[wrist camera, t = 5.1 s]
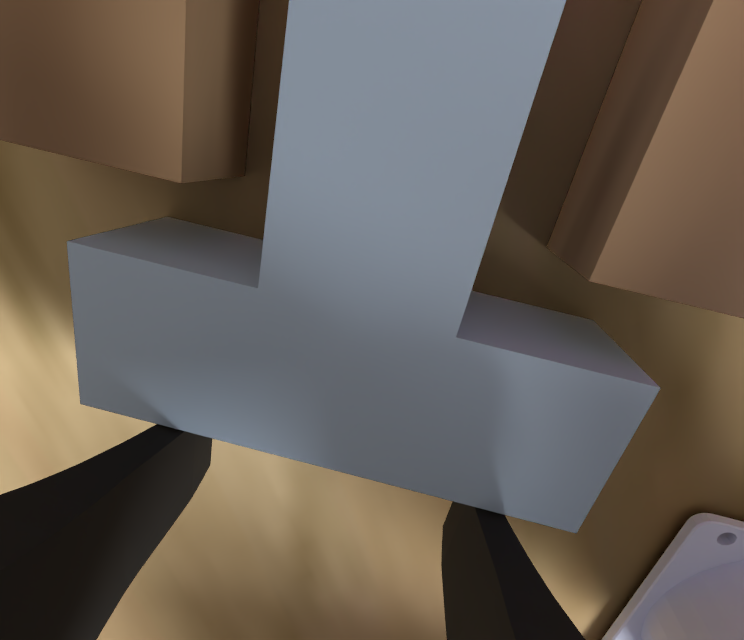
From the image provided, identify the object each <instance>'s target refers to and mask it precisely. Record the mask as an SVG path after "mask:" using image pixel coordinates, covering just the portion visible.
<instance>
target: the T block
mask: <svg viewBox="0 0 744 640" xmlns="http://www.w3.org/2000/svg"><path fill="white" fill-rule="evenodd" d="M565 3H566V0H289V6H288V16H287V25H286V34H285V43H284V53H283V62H282V71H281V80H280V90H279V99H278V108H277V118H276V127H275V136H274V145H273V155H272V164H271V173H270V182H269V192H268V201H267V210H266V219H265V229H264V238H263V240H261V239H257V238H253V237H249V236H245V235H241V234H237V233H233V232H228V231H224V230H220V229H216V228H212V227H208V226H204V225H200V224H195V223H191V222H187V221H183V220H179V219H175V218H171V217H164V218H160V219H156V220H152V221H148V222H144V223H140V224H136V225H131V226H127V227H123V228H119V229H115V230H111V231H107V232H103V233H98V234H94V235H90V236H86V237H82V238H78V239H74V240H70V241H67V251H68V263H69V275H70V286H71V298H72V310H73V322H74V334H75V346H76V358H77V370H78V382H79V393H80V404H83V405H86V406H90V407H94V408H98V409H102V410H106V411H109V412H113V413H117V414H121V415H125V416H129V417H132V418H136V419H140V420H144V421H148V422H152V423H155V424H159V425H163V426H167V427H171V428H174V429H178V430H182V431H186V432H190V433H194V434H197V435H201V436H205V437H209V438H213V439H217V440H220V441H224V442H228V443H232V444H236V445H240V446H243V447H247V448H251V449H255V450H259V451H263V452H266V453H270V454H274V455H278V456H282V457H285V458H289V459H293V460H297V461H301V462H305V463H308V464H312V465H316V466H320V467H324V468H328V469H331V470H335V471H339V472H343V473H347V474H351V475H354V476H358V477H362V478H366V479H370V480H374V481H377V482H381V483H385V484H389V485H393V486H396V487H400V488H404V489H408V490H412V491H416V492H419V493H423V494H427V495H431V496H435V497H439V498H442V499H446V500H450V501H454V502H458V503H462V504H465V505H469V506H473V507H477V508H481V509H485V510H488V511H492V512H496V513H500V514H504V515H507V516H511V517H515V518H519V519H523V520H527V521H530V522H534V523H538V524H542V525H546V526H550V527H553V528H557V529H561V530H565V531H569V532H573V533H577V532H578V530H579V528H580V526H581V525H582V523H583V521H584V519H585V518H586V516H587V514H588V513H589V511H590V509H591V507H592V506H593V504H594V502H595V501H596V499H597V497H598V495H599V494H600V492H601V490H602V488H603V487H604V485H605V483H606V482H607V480H608V478H609V476H610V475H611V473H612V471H613V469H614V468H615V466H616V464H617V463H618V461H619V459H620V457H621V456H622V454H623V452H624V451H625V449H626V447H627V445H628V444H629V442H630V440H631V438H632V437H633V435H634V433H635V432H636V430H637V428H638V426H639V425H640V423H641V421H642V419H643V418H644V416H645V414H646V413H647V411H648V409H649V407H650V406H651V404H652V402H653V400H654V399H655V397H656V395H657V394H658V392H659V390H660V387H659V386H658V385H657V384H656V383H655V382H654V381H653V380H652V379H651V378H650V377H649V376H648V375H647V374H646V373H645V372H644V371H643V370H642V369H641V368H640V367H639V366H638V365H637V364H636V363H635V362H634V361H633V360H632V359H631V358H630V357H629V356H628V355H627V354H626V353H625V352H624V351H623V350H622V349H621V348H620V347H619V346H618V345H617V344H616V343H615V342H614V341H613V340H612V339H611V338H610V337H609V336H608V335H607V334H606V333H605V332H604V331H603V330H602V329H601V328H600V327H599V326H598V325H597V324H596V323H595V322H594V321H593V320H590V319H586V318H582V317H578V316H574V315H570V314H566V313H562V312H558V311H553V310H549V309H545V308H541V307H537V306H533V305H529V304H525V303H520V302H516V301H512V300H508V299H504V298H500V297H496V296H492V295H488V294H483V293H479V292H475V291H471V290H472V287H473V284H474V281H475V278H476V275H477V272H478V268H479V265H480V262H481V259H482V256H483V253H484V250H485V247H486V244H487V241H488V238H489V235H490V232H491V229H492V226H493V223H494V220H495V217H496V213H497V210H498V207H499V204H500V201H501V198H502V195H503V192H504V189H505V186H506V183H507V180H508V177H509V174H510V171H511V168H512V165H513V162H514V158H515V155H516V152H517V149H518V146H519V143H520V140H521V137H522V134H523V131H524V128H525V125H526V122H527V119H528V116H529V113H530V110H531V107H532V103H533V100H534V97H535V94H536V91H537V88H538V85H539V82H540V79H541V76H542V73H543V70H544V67H545V64H546V61H547V58H548V55H549V52H550V48H551V45H552V42H553V39H554V36H555V33H556V30H557V27H558V24H559V21H560V18H561V15H562V12H563V9H564V6H565Z"/></svg>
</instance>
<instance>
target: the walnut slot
mask: <svg viewBox="0 0 744 640" xmlns="http://www.w3.org/2000/svg"><path fill="white" fill-rule="evenodd" d="M258 11H259V0H0V140H3V141H7V142H11V143H15V144H19V145H23V146H28V147H32V148H36V149H40V150H44V151H48V152H53V153H57V154H61V155H65V156H69V157H73V158H78V159H82V160H86V161H90V162H94V163H98V164H103V165H107V166H111V167H115V168H119V169H123V170H128V171H132V172H136V173H140V174H144V175H148V176H153V177H157V178H161V179H165V180H169V181H173V182H178V183H188V182H197V181H205V180H214V179H222V178H230V177H239V176H245V165H246V153H247V141H248V129H249V118H250V106H251V94H252V82H253V70H254V58H255V47H256V35H257V23H258ZM546 248H548V249H549V250H550V251H551V252H553V253H554V254H555V255H556V256H558V257H559V258H560V259H561V260H563V261H564V262H565V263H567V264H568V265H569V266H570V267H572V268H573V269H574V270H575V271H577V272H578V273H579V274H580V275H582V276H583V277H584V278H586V279H587V280H588V281H590V282H594V283H599V284H603V285H607V286H611V287H615V288H619V289H624V290H628V291H632V292H636V293H640V294H644V295H649V296H653V297H657V298H661V299H665V300H669V301H674V302H678V303H682V304H686V305H690V306H694V307H699V308H703V309H707V310H711V311H715V312H719V313H724V314H728V315H732V316H736V317H740V318H744V0H642V2H641V5H640V7H639V10H638V12H637V15H636V17H635V20H634V23H633V25H632V28H631V30H630V33H629V36H628V38H627V41H626V43H625V46H624V48H623V51H622V54H621V56H620V59H619V61H618V64H617V67H616V69H615V72H614V74H613V77H612V79H611V82H610V85H609V87H608V90H607V92H606V95H605V98H604V100H603V103H602V105H601V108H600V110H599V113H598V116H597V118H596V121H595V123H594V126H593V129H592V131H591V134H590V136H589V139H588V141H587V144H586V147H585V149H584V152H583V154H582V157H581V160H580V162H579V165H578V167H577V170H576V172H575V175H574V178H573V180H572V183H571V185H570V188H569V191H568V193H567V196H566V198H565V201H564V203H563V206H562V209H561V211H560V214H559V216H558V219H557V222H556V224H555V227H554V229H553V232H552V234H551V237H550V240H549V242H548V245H547V247H546Z"/></svg>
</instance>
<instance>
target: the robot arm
mask: <svg viewBox="0 0 744 640" xmlns="http://www.w3.org/2000/svg"><path fill="white" fill-rule="evenodd" d="M211 447H212V438H209V437H205V436H201V435H197V434H194V433H190V432H186V431H182V430H178V429H174V428H171V427H167V426H163V425H159V424H157V425H155V426H153V427H151V428H149V429H147V430H146V431H144V432H142V433H140V434H138V435H136V436H134V437H132V438H131V439H129V440H127V441H125V442H123V443H121V444H119V445H117V446H115V447H113V448H111V449H109V450H107V451H105V452H103V453H101V454H98V455H96V456H94V457H92V458H90V459H88V460H86V461H84V462H82V463H80V464H78V465H75V466H73V467H71V468H68V469H66V470H64V471H61V472H59V473H57V474H54V475H52V476H49V477H47V478H44V479H42V480H39V481H37V482H34V483H32V484H29V485H27V486H24V487H21V488H18V489H16V490H13V491H10V492H7V493H4V494H1V495H0V640H96V639H97V638H98V636H99V634H100V632H101V631H102V629H103V628H104V626H105V624H106V623H107V621H108V619H109V618H110V616H111V614H112V613H113V611H114V609H115V608H116V606H117V604H118V603H119V601H120V599H121V598H122V596H123V594H124V593H125V591H126V590H127V588H128V587H129V585H130V584H131V582H132V581H133V579H134V578H135V576H136V575H137V573H138V572H139V570H140V569H141V568H142V566H143V565H144V564H145V562H146V561H147V559H148V558H149V557H150V555H151V554H152V553H153V551H154V550H155V548H156V547H157V546H158V544H159V543H160V541H161V540H162V539H163V537H164V536H165V535H166V533H167V532H168V530H169V529H170V528H171V526H172V525H173V524H174V522H175V521H176V519H177V518H178V517H179V515H180V514H181V512H182V511H183V510H184V508H185V507H186V505H187V504H188V503H189V501H190V500H191V498H192V497H193V495H194V493H195V491H196V490H197V488H198V486H199V484H200V483H201V481H202V479H203V477H204V475H205V473H206V472H207V470H208V468H209V466H210V461H211ZM441 565H442V580H443V594H444V608H445V621H446V635H447V640H585V639H584V637H583V636H582V635H581V633H580V632H579V631H578V629H577V628H576V626H575V625H574V624H573V622H572V621H571V620H570V618H569V617H568V616H567V614H566V613H565V612H564V610H563V609H562V608H561V606H560V605H559V603H558V602H557V600H556V599H555V598H554V596H553V595H552V593H551V592H550V590H549V589H548V587H547V586H546V584H545V583H544V581H543V579H542V578H541V576H540V575H539V573H538V572H537V570H536V569H535V567H534V565H533V564H532V562H531V561H530V559H529V557H528V556H527V554H526V552H525V550H524V549H523V547H522V545H521V544H520V542H519V540H518V538H517V537H516V535H515V533H514V532H513V530H512V528H511V526H510V524H509V523H508V521H507V519H506V517H505V515H504V514H500V513H496V512H492V511H488V510H485V509H481V508H477V507H473V506H469V505H465V504H462V503H458V502H454V501H453V502H452V505H451V507H450V510H449V512H448V515H447V517H446V520H445V522H444V525H443V537H442V564H441ZM602 640H744V522H743V521H739V520H735V519H731V518H727V517H723V516H719V515H715V514H711V513H699V514H695V515H693V516H691V517H690V518H689V519H688V520H687V521H686V523H685V524H684V526H683V527H682V528H681V530H680V531H679V533H678V534H677V535H676V537H675V538H674V539H673V541H672V542H671V544H670V545H669V546H668V548H667V549H666V551H665V552H664V553H663V555H662V556H661V558H660V559H659V560H658V562H657V563H656V565H655V566H654V567H653V569H652V570H651V572H650V573H649V574H648V576H647V577H646V579H645V580H644V581H643V583H642V584H641V585H640V587H639V588H638V590H637V591H636V592H635V594H634V595H633V597H632V598H631V599H630V601H629V602H628V604H627V605H626V606H625V608H624V609H623V611H622V612H621V613H620V615H619V616H618V618H617V619H616V620H615V622H614V623H613V624H612V626H611V627H610V629H609V630H608V631H607V633H606V634H605V636H604V637H603V638H602Z"/></svg>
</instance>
